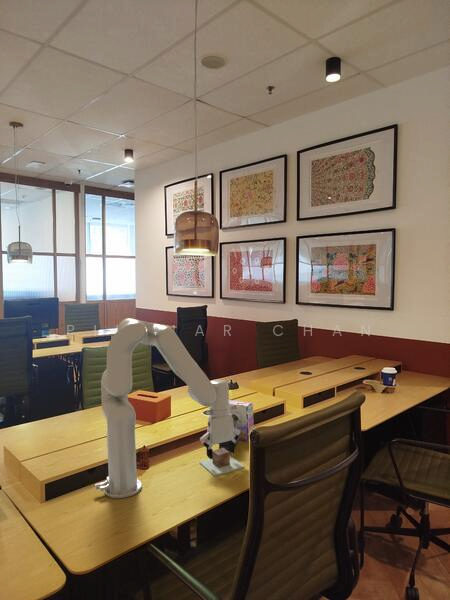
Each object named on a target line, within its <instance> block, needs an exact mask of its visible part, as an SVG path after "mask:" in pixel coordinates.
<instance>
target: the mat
mask: <svg viewBox="0 0 450 600" xmlns="http://www.w3.org/2000/svg"><path fill="white" fill-rule="evenodd" d="M199 464H200V465H201V466H202V467H203V468H204V469H205V470H207V471H208V472H209V473H210V475H212V477H213V476H214V477H217V476H220V475H224V474H227V473H231V472H233V471H239V470H242V469H244V468H245V465H243V463H241V462H239V461H238V460H237V459H235V458H234V457H232V455H230V465H228V466H224V467H221V468H218V467H217V466H215V465H214V464H213V462H212V459H210V458H208V459H204V460H200V461H199Z"/></svg>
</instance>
